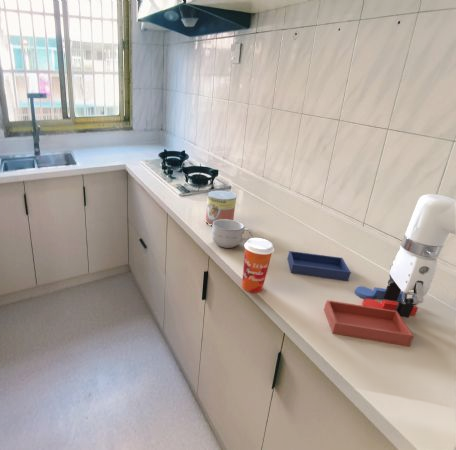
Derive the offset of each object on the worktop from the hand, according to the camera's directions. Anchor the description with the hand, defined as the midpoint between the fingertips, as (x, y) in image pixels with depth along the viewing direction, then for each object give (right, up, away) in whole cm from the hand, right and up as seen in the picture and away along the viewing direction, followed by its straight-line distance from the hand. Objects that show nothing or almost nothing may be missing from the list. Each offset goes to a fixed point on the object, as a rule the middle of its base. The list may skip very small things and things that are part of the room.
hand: (395, 306), depth 88 cm
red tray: (-12, -3, -6) cm, 14 cm away
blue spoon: (-1, +1, +6) cm, 6 cm away
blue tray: (-12, +7, +19) cm, 23 cm away
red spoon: (-2, -1, +1) cm, 2 cm away
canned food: (-36, +22, +51) cm, 66 cm away
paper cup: (-35, +3, +8) cm, 36 cm away
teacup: (-36, +14, +32) cm, 50 cm away
